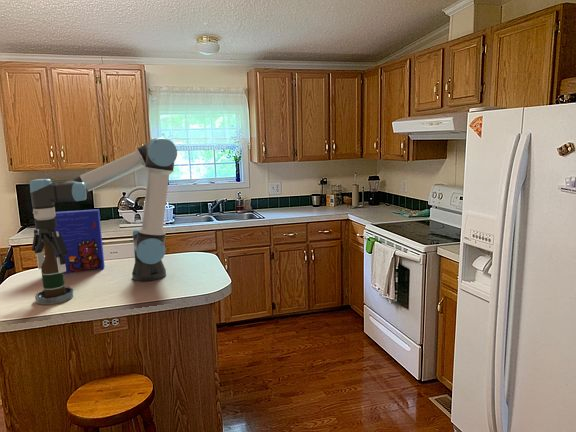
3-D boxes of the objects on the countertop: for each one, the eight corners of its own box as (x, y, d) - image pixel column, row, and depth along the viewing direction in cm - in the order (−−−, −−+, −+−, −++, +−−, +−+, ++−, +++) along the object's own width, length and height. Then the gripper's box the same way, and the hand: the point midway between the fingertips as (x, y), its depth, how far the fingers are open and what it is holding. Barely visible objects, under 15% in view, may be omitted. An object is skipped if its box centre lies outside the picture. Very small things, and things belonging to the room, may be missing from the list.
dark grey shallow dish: (80, 293, 178) (79, 287, 178) (58, 305, 165) (57, 298, 165) (51, 292, 180) (51, 286, 180) (28, 304, 168) (27, 297, 167)
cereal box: (104, 266, 219) (98, 208, 213) (103, 269, 213) (97, 210, 208) (57, 271, 211) (50, 211, 206) (55, 274, 206) (47, 213, 201)
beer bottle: (63, 299, 170) (56, 241, 166) (42, 301, 168) (34, 242, 164) (68, 292, 177) (61, 236, 173) (47, 294, 175) (40, 238, 171)
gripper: (17, 218, 170) (24, 268, 174) (55, 222, 158) (62, 276, 162) (36, 214, 176) (42, 263, 180) (73, 218, 164) (80, 271, 168)
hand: (52, 270), depth 171 cm, fingers open, 13 cm apart
